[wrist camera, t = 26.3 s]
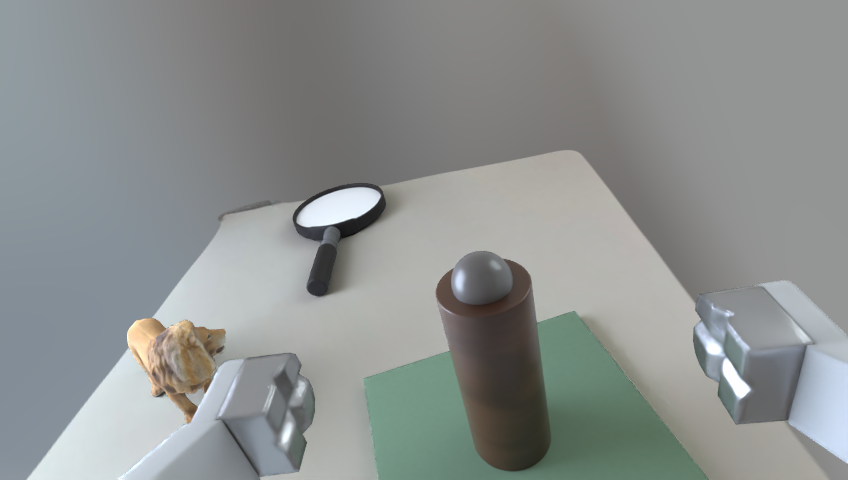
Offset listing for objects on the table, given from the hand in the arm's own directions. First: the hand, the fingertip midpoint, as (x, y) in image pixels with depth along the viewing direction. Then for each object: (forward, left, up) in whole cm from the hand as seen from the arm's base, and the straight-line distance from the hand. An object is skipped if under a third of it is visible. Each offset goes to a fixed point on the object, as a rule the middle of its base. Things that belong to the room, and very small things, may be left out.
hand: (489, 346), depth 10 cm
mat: (-3, -13, -22) cm, 25 cm away
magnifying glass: (+7, -48, -22) cm, 53 cm away
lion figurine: (+21, -28, -22) cm, 41 cm away
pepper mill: (-3, -13, -21) cm, 25 cm away
